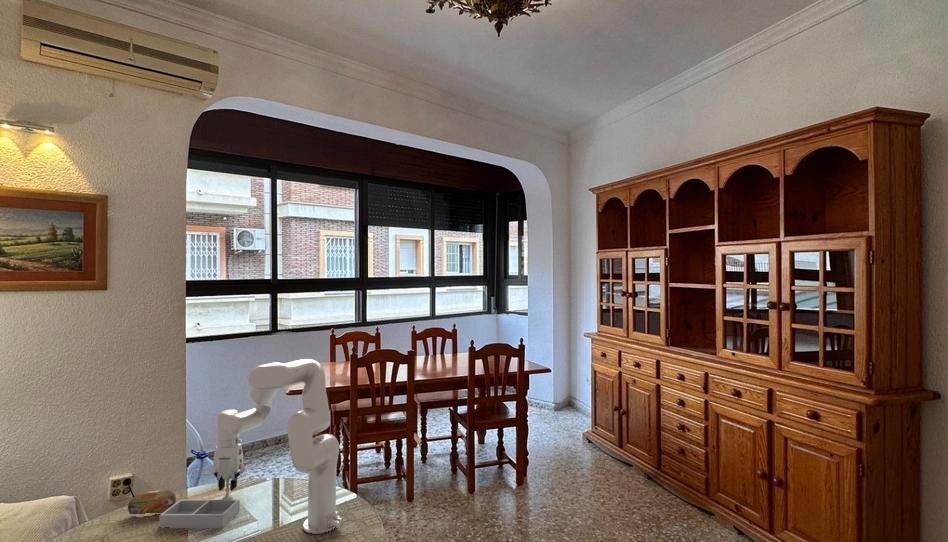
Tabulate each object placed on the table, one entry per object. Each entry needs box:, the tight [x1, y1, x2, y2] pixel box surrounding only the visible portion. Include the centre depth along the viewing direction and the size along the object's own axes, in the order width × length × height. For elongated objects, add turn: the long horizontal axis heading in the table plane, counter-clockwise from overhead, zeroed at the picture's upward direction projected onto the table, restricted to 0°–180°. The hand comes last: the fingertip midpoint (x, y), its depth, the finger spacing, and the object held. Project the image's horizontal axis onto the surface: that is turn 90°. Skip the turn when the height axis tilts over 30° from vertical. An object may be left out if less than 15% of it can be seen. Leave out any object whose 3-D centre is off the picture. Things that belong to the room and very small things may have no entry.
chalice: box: [219, 459, 235, 500], centre depth 181 cm, size 7×7×18 cm
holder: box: [158, 499, 241, 529], centre depth 167 cm, size 22×12×4 cm, turn 90°
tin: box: [127, 489, 177, 515], centre depth 172 cm, size 15×3×8 cm, turn 105°
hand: (227, 488), depth 181 cm, fingers open, 3 cm apart
